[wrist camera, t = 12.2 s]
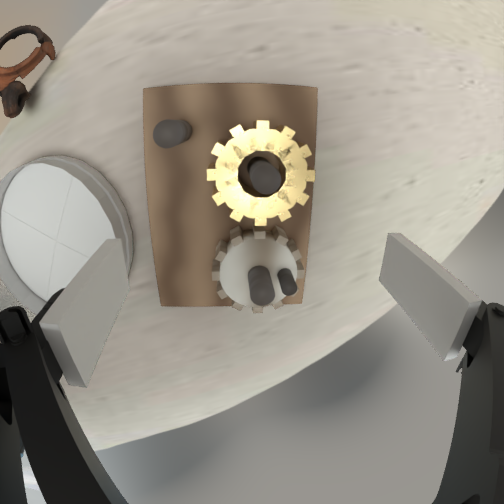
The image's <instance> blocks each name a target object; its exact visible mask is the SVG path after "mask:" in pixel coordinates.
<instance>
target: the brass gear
mask: <svg viewBox="0 0 504 504" xmlns="http://www.w3.org/2000/svg"><path fill="white" fill-rule="evenodd" d="M229 131H230V132H231V134H232V136H233V137H231V138H229V139H228V140H227V142H226V144H225V143H223V142H221V141H219V140H218V142H217V143H216V145H215V147H214V149H213V150H212V152H211V153H212V154H214V155H216V156H218V157H217V160H216V163H210V164H209V166H208V168H207V181H216V186H215V187H214V188H213V193H212V198H213V199H214V201H215V202H216V204H217V205H218V206H219V205H220V204H222V203H224V202H226V204H227V205H228V206H229V217H231V218H233V219H235V220H236V221H238V222H240V221H241V219H242V217H243V216H246V217H248V218H253V220H254V224H255V226H266V222H267V218H272V217H275V216H277V215H278V216H279V218H280V220H281V222H282V221H284V220H286V219H288V218H290V217H292V216H291V214H290V212H289V210H288V209H290V208H292V207H293V206H294V205H295V203H296V202H298V203H299V204H301V205H303V206H304V204H305V203H306V201H307V199H308V198H309V195H308V194H307V193H305V192H304V189H305V188H306V181H314V182H315V170H314V169H312V168H311V167H309V166H307V162H306V160H305V158H306V157H308V156H310V155H312V153H311V151H310V149H309V147H308V145H307V144H305V143H301V142H298V141H297V142H295V141H293V140H292V137H293V136H294V134H295V133H296V132H295V131H293V130H292V129H290V128H289V127H287V126H283V125H278V127H277V128H276V130H275V129H269V121H262V120H256V121H253V128H247V129H245V130H243V128H242V127H241V125H240V124H239V125H237V126H235V127H233V128H231V129H230V130H229ZM255 151H270V152H272V153H273V154H274V155H275V156H276V158H277V160H278V162H279V173H280V176H281V184H280V186H279V188H278V189H277V190H276V191H275V192H273V193H271V194H262V193H259V192H258V191H257V190H256V189H255V188H250V187H249V186H247V185H245V184H243V183H242V182H241V180H240V178H239V177H238V167H239V165H240V164H241V162H242V160H243V159H244V157H245V156H247V155H249V154H251V153H253V152H255Z"/></svg>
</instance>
